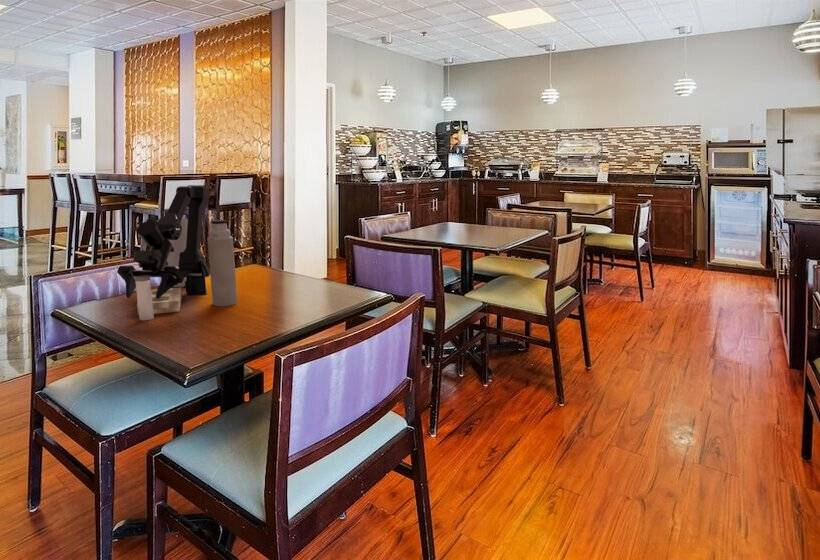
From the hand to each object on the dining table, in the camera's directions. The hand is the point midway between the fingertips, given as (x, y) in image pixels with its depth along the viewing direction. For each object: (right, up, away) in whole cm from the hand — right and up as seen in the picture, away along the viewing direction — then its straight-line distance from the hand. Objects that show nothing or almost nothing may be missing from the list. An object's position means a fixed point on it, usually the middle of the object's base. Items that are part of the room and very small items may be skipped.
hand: (142, 297), depth 162 cm
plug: (0, -6, +3) cm, 7 cm away
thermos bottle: (+18, -3, +21) cm, 27 cm away
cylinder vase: (-9, +3, +49) cm, 50 cm away
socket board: (-2, -3, +17) cm, 18 cm away
